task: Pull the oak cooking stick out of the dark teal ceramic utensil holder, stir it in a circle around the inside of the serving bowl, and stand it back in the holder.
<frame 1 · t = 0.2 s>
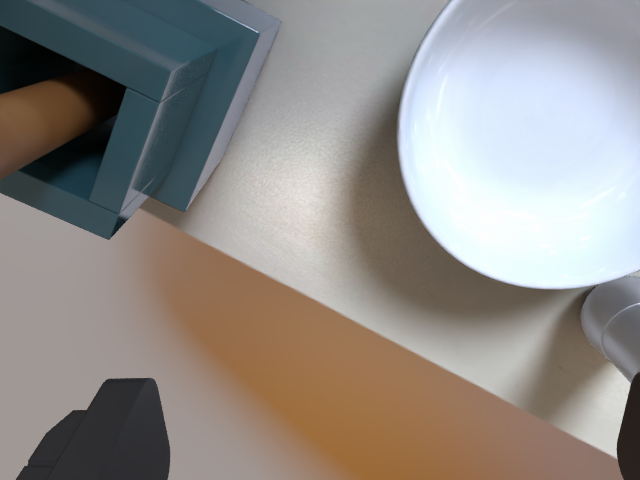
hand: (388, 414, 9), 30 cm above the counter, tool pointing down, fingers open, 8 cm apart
utensil holder: (182, 57, 36), on the counter
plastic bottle: (613, 301, 43), on the counter
cooking stick: (123, 82, 26), point 11 cm above the counter, touching utensil holder
serving bowl: (541, 105, 37), on the counter
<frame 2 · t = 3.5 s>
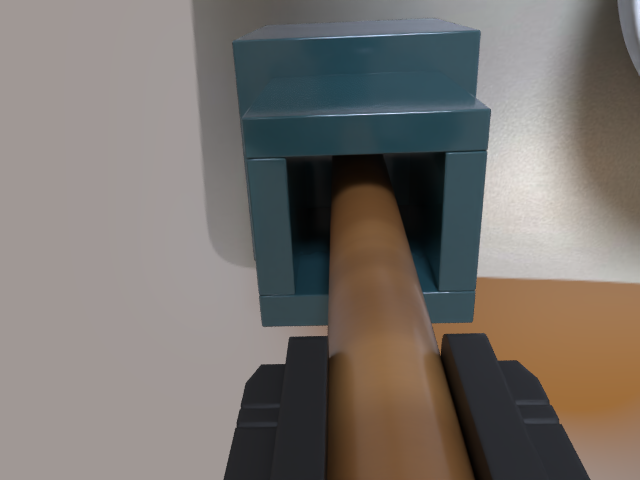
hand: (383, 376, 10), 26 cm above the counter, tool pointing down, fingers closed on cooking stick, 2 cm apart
utensil holder: (351, 108, 34), on the counter
cooking stick: (357, 156, 24), point 11 cm above the counter, touching gripper, utensil holder
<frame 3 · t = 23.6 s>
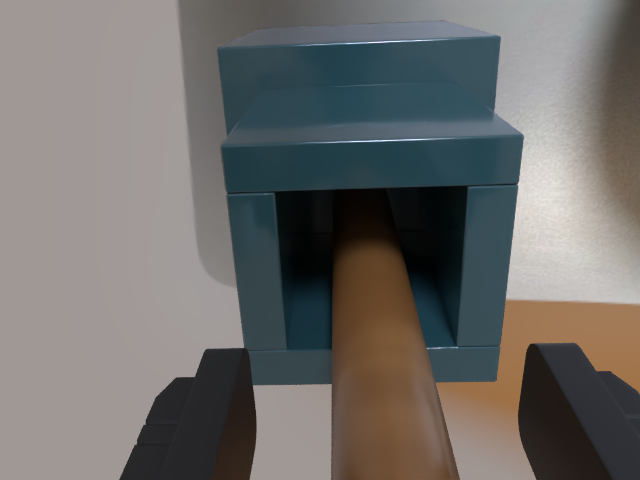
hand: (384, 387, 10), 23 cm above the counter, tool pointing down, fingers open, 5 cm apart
utensil holder: (352, 118, 31), on the counter
cooking stick: (360, 201, 22), point 11 cm above the counter, touching utensil holder
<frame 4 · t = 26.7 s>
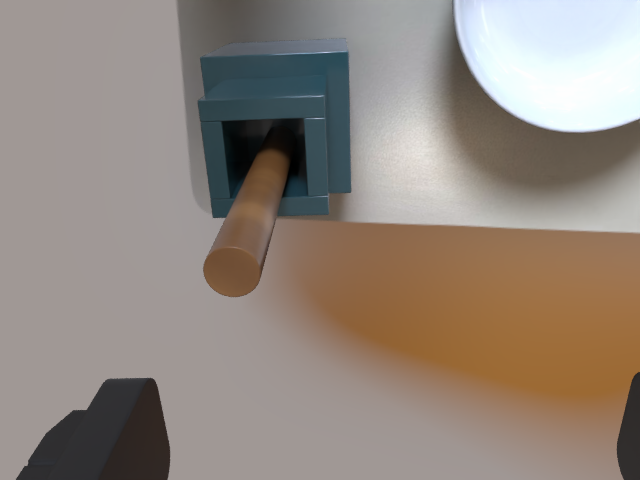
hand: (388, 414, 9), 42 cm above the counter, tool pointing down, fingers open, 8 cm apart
utensil holder: (290, 100, 49), on the counter
cooking stick: (280, 141, 39), point 11 cm above the counter, touching utensil holder
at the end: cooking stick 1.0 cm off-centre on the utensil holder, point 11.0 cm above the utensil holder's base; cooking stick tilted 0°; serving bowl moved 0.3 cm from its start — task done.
